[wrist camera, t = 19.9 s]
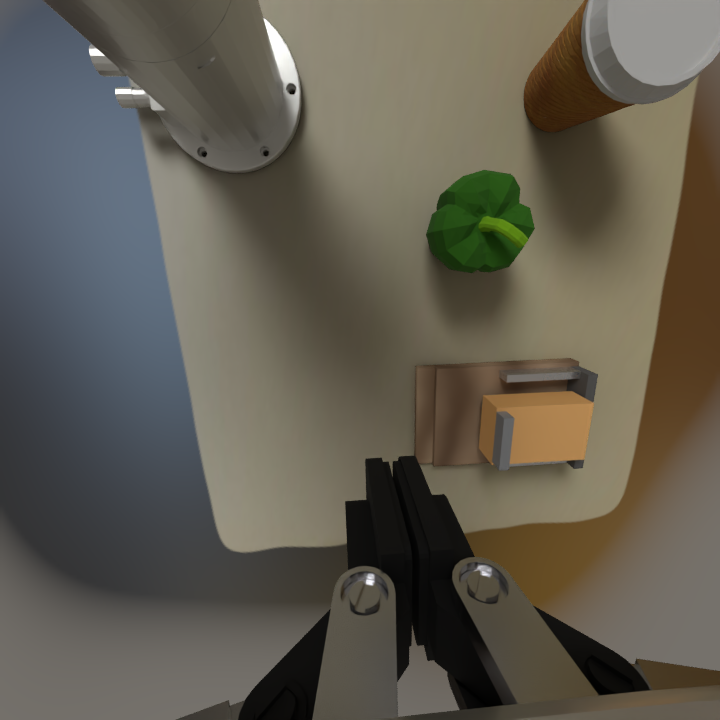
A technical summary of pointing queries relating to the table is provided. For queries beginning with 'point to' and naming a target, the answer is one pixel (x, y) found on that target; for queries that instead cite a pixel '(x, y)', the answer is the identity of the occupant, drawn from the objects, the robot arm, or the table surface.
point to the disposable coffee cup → (621, 58)
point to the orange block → (534, 427)
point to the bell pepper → (480, 223)
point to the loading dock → (464, 396)
